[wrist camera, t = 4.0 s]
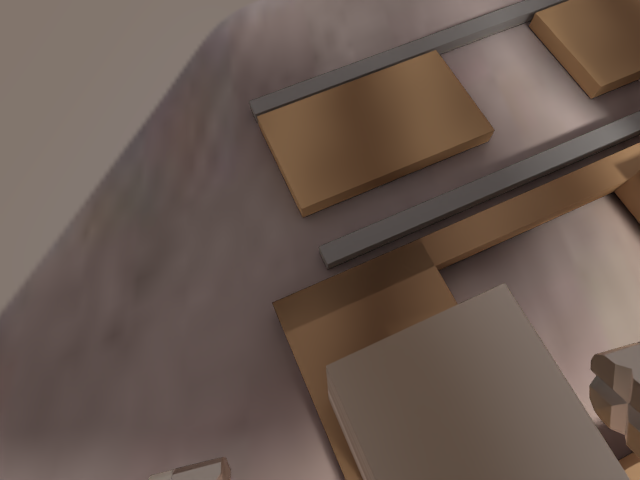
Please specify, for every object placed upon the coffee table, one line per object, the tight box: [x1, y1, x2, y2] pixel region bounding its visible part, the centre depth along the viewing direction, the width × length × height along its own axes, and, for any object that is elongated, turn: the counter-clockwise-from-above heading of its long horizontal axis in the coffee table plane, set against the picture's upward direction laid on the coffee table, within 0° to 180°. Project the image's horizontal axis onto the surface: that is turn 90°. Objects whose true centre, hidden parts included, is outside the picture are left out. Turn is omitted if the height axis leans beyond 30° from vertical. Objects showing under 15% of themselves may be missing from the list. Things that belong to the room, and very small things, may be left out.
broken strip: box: [257, 0, 640, 217], centre depth 21 cm, size 24×5×1 cm, turn 114°
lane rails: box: [249, 0, 640, 269], centre depth 18 cm, size 23×21×1 cm
